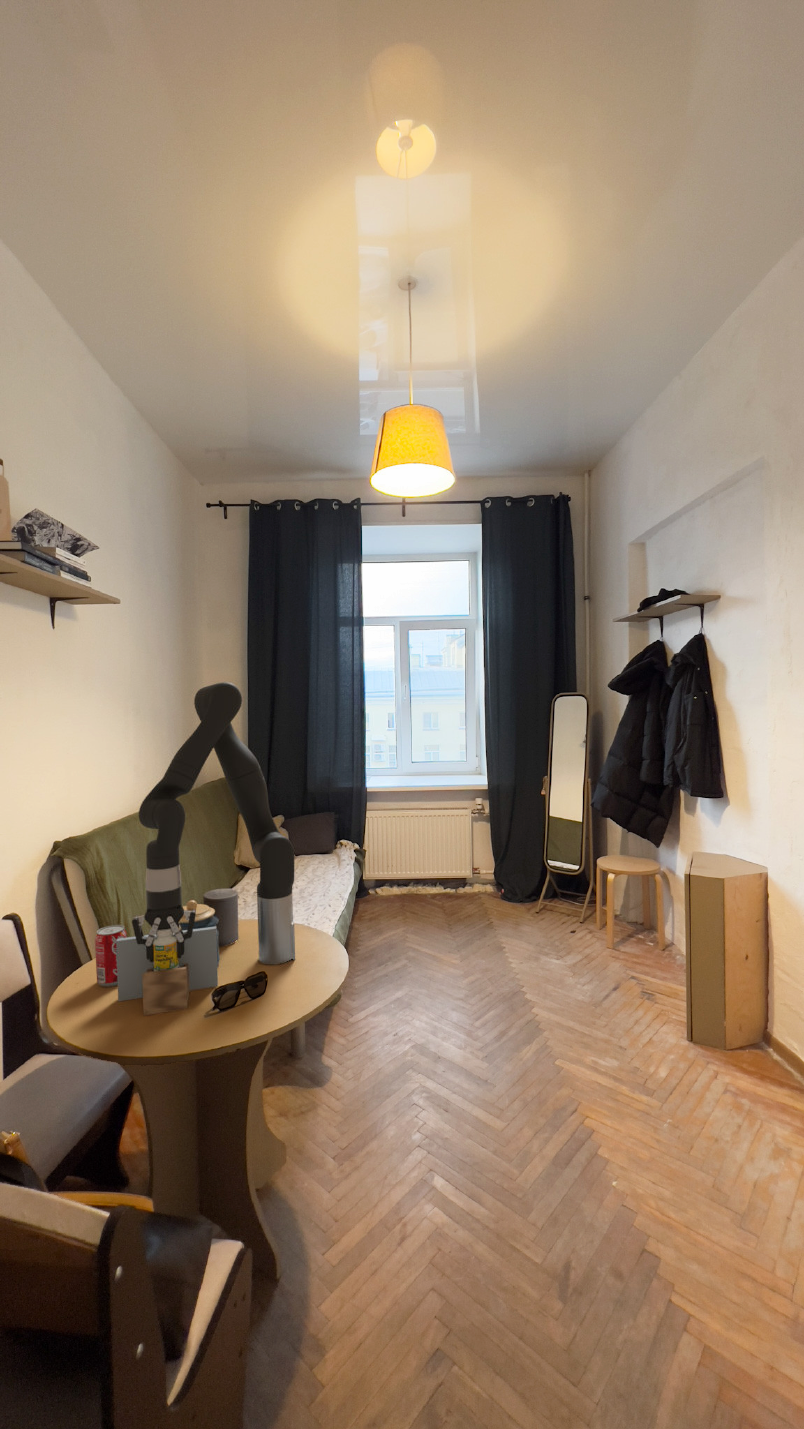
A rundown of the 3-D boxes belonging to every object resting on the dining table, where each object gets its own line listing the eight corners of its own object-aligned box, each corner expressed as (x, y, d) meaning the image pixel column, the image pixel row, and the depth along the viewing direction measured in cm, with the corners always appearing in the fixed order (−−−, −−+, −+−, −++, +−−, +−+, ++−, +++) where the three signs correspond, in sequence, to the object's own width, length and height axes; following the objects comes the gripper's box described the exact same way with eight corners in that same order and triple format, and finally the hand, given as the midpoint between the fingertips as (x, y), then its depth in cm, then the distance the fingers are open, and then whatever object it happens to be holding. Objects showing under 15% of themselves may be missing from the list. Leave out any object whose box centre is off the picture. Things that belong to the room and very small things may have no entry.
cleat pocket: (189, 990, 144) (188, 953, 144) (187, 1008, 135) (185, 968, 135) (148, 996, 141) (147, 958, 141) (143, 1015, 133) (142, 974, 132)
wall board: (217, 983, 147) (216, 926, 147) (217, 986, 146) (215, 928, 145) (119, 998, 141) (117, 938, 140) (118, 1001, 139) (116, 941, 139)
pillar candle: (197, 946, 170) (196, 893, 170) (213, 933, 180) (212, 883, 180) (229, 948, 169) (228, 895, 168) (244, 934, 178) (243, 884, 178)
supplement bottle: (180, 962, 142) (179, 922, 142) (176, 972, 137) (175, 930, 136) (155, 965, 141) (154, 924, 140) (151, 975, 135) (150, 933, 135)
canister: (185, 956, 164) (183, 891, 163) (229, 959, 161) (226, 893, 161) (156, 977, 151) (153, 907, 151) (203, 981, 148) (201, 910, 148)
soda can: (116, 989, 145) (114, 935, 145) (90, 987, 147) (88, 934, 147) (134, 975, 152) (133, 924, 152) (109, 974, 154) (107, 923, 154)
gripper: (197, 877, 144) (199, 948, 144) (132, 884, 140) (134, 956, 140) (196, 886, 137) (198, 960, 137) (127, 893, 133) (129, 970, 133)
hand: (165, 958), depth 139 cm, fingers closed on supplement bottle, 5 cm apart
